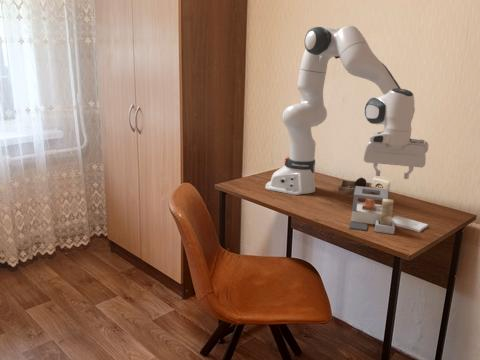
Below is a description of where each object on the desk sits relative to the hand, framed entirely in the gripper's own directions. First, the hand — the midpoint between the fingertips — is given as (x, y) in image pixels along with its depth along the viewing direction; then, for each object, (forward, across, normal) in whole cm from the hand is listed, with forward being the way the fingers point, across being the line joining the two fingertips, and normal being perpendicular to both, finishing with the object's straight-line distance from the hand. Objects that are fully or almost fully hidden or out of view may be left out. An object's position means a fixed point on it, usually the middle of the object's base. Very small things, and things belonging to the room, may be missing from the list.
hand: (391, 177), depth 162 cm
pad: (+20, +9, +1) cm, 22 cm away
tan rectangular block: (+20, 0, 0) cm, 20 cm away
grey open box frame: (+20, +6, -10) cm, 23 cm away
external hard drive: (+20, -8, -9) cm, 24 cm away
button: (+16, +6, -10) cm, 20 cm away
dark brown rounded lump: (+20, +14, -45) cm, 51 cm away
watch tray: (+19, +13, -46) cm, 52 cm away
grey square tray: (+20, 0, 0) cm, 20 cm away
